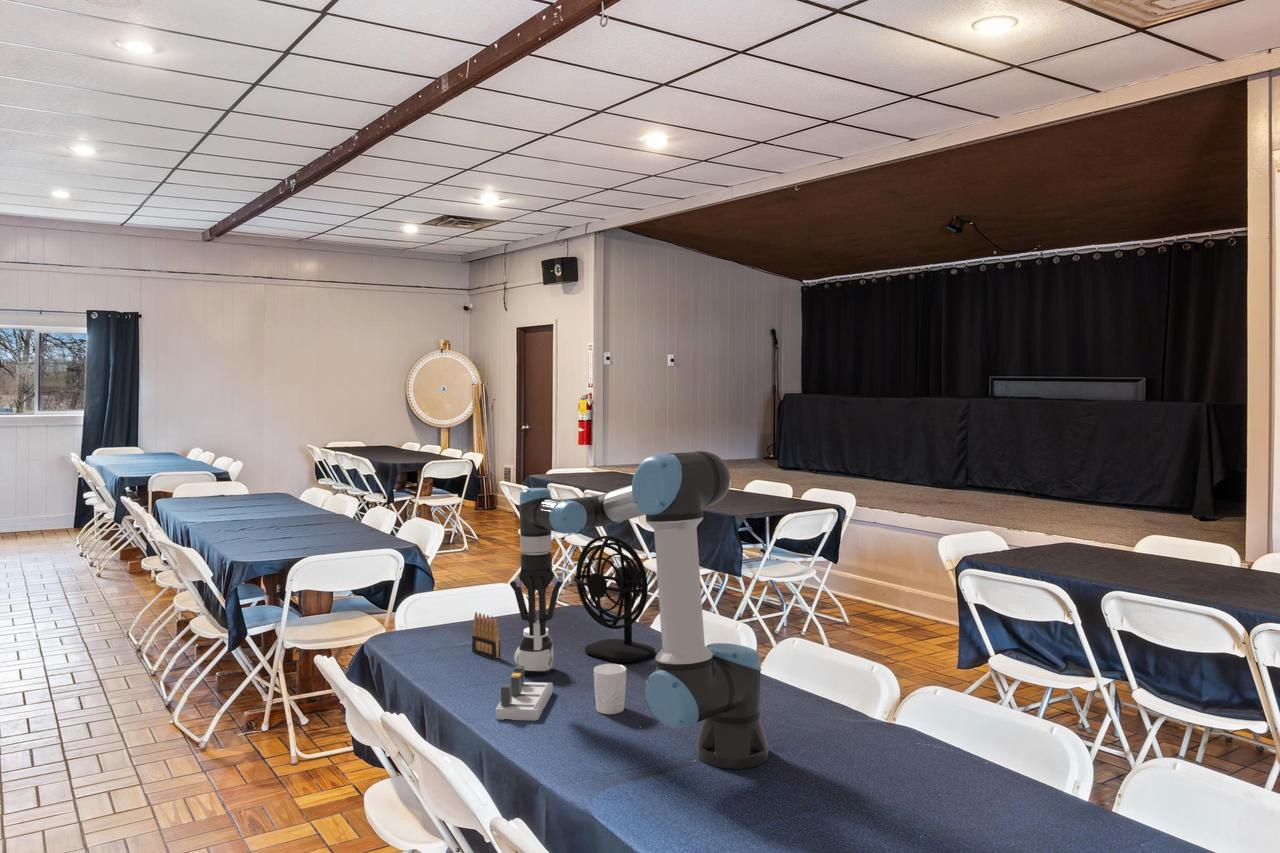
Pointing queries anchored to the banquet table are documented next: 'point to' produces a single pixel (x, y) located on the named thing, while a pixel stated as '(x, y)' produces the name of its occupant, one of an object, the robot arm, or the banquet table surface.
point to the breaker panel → (527, 702)
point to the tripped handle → (516, 684)
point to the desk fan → (597, 587)
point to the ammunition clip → (485, 636)
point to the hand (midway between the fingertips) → (538, 648)
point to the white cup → (610, 688)
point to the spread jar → (535, 654)
